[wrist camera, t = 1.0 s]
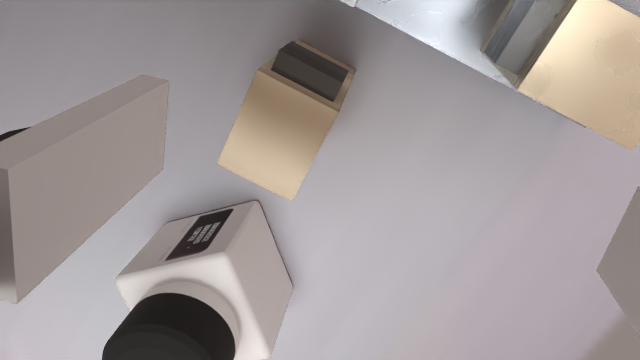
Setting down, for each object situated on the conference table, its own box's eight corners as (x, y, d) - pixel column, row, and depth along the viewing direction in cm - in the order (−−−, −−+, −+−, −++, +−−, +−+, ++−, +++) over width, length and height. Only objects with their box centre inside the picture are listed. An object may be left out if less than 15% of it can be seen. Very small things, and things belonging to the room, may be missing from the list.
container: (163, 222, 38) (56, 338, 26) (259, 197, 36) (190, 311, 24) (204, 307, 41) (123, 448, 29) (295, 288, 39) (249, 431, 27)
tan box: (321, 138, 34) (292, 201, 25) (266, 110, 34) (216, 163, 24) (363, 55, 31) (348, 92, 22) (305, 24, 31) (266, 49, 22)
